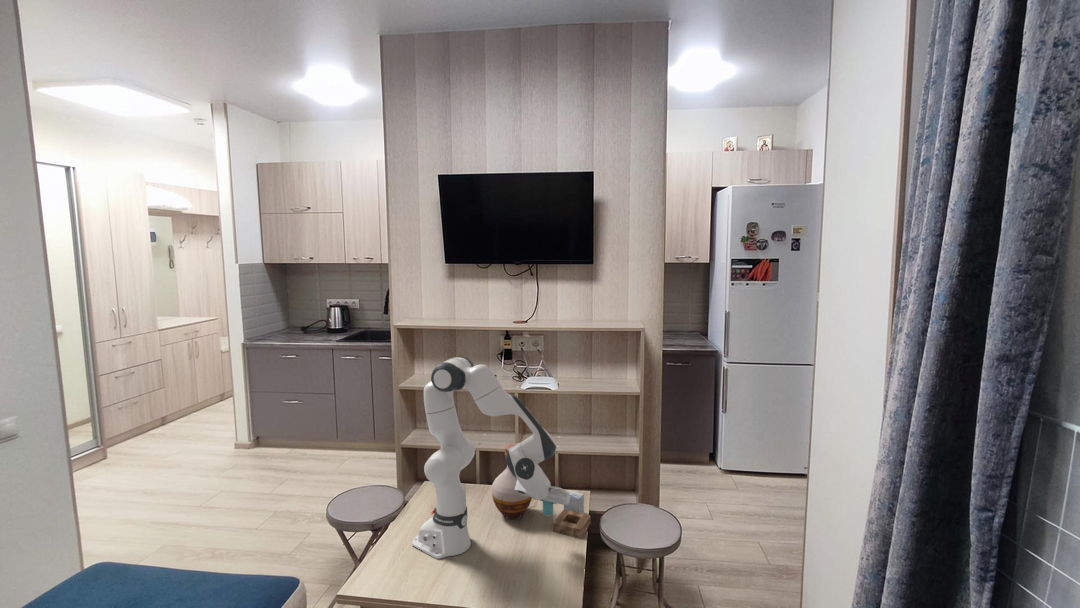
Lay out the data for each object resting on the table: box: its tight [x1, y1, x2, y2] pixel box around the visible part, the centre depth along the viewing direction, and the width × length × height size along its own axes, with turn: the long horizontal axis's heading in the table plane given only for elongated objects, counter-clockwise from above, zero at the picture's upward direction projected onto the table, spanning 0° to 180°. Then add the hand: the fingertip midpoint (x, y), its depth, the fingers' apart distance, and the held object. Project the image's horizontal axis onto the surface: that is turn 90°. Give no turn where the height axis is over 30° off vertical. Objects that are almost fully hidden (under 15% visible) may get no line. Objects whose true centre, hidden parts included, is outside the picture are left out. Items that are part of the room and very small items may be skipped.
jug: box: [491, 442, 533, 520], centre depth 202 cm, size 20×18×30 cm
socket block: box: [552, 508, 592, 539], centre depth 192 cm, size 12×12×4 cm
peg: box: [542, 500, 554, 517], centre depth 179 cm, size 4×4×8 cm
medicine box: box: [563, 489, 585, 514], centre depth 203 cm, size 8×4×9 cm, turn 58°
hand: (548, 500), depth 179 cm, fingers closed on peg, 4 cm apart
